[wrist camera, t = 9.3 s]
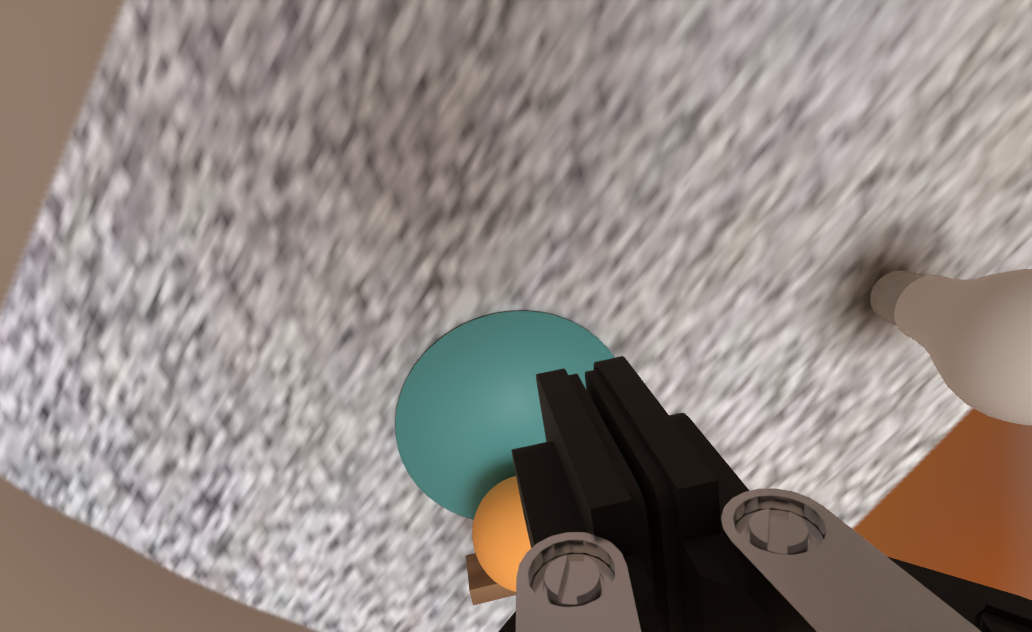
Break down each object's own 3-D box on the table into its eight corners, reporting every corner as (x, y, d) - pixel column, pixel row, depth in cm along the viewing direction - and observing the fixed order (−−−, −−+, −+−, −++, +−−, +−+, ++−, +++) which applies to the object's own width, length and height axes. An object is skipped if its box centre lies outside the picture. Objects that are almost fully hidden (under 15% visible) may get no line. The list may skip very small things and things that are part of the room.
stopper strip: (466, 555, 33) (469, 590, 30) (607, 522, 33) (620, 553, 31) (469, 569, 33) (473, 605, 31) (608, 536, 34) (622, 568, 31)
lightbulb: (838, 362, 32) (1035, 481, 22) (816, 261, 30) (1022, 341, 20) (942, 316, 32) (1188, 414, 22) (927, 211, 30) (1192, 266, 20)
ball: (462, 477, 32) (461, 503, 26) (562, 454, 32) (581, 476, 27) (483, 579, 32) (486, 627, 26) (582, 555, 32) (606, 597, 27)
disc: (369, 338, 28) (368, 340, 28) (616, 288, 29) (617, 289, 29) (424, 542, 32) (424, 545, 32) (638, 492, 33) (640, 494, 33)
